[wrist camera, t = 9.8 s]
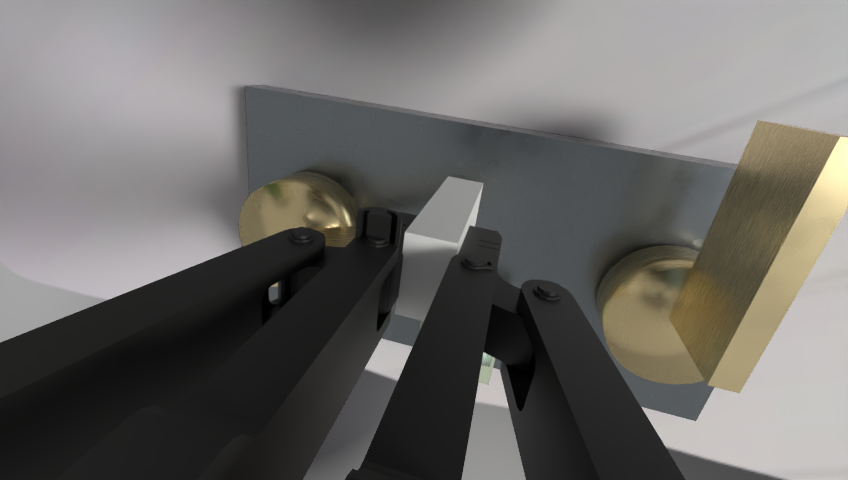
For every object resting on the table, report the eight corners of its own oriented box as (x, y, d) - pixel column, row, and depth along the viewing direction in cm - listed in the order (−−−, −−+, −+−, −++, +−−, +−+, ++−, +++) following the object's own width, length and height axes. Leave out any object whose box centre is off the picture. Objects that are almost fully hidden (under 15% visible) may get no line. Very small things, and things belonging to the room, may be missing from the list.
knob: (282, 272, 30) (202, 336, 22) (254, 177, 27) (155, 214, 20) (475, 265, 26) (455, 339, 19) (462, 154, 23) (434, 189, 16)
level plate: (268, 291, 34) (218, 333, 28) (263, 84, 27) (197, 87, 22) (685, 399, 28) (722, 475, 23) (800, 175, 22) (889, 207, 17)
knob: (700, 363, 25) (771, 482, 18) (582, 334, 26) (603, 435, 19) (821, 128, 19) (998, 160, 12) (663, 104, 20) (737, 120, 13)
